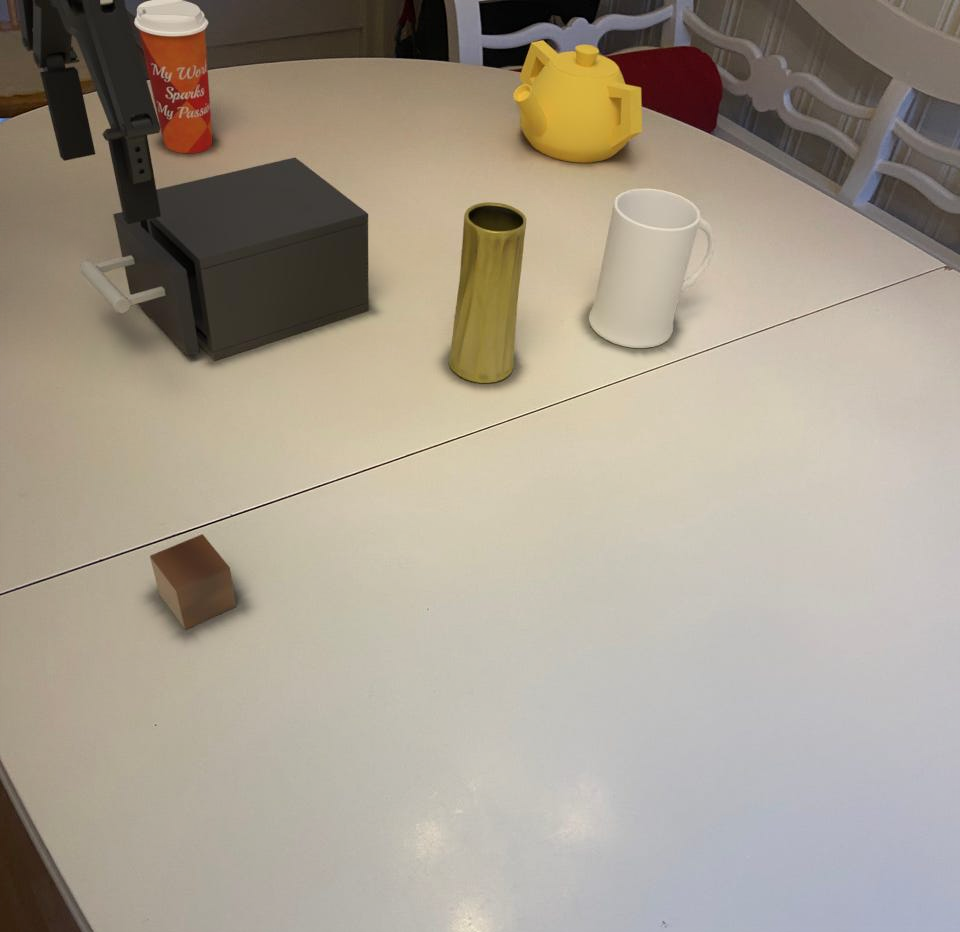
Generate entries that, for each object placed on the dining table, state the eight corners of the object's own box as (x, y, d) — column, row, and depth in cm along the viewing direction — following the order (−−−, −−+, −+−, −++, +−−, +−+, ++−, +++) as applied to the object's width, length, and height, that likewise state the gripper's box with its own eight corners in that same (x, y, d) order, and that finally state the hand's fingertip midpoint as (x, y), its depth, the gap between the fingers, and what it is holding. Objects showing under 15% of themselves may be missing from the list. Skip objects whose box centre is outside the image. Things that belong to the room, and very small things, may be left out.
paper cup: (162, 160, 111) (140, 23, 100) (148, 132, 115) (125, -2, 105) (229, 153, 114) (214, 19, 103) (213, 126, 118) (197, -5, 107)
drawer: (137, 371, 84) (119, 288, 78) (82, 308, 89) (61, 226, 83) (336, 308, 93) (333, 229, 87) (274, 254, 98) (268, 176, 92)
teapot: (457, 132, 123) (463, 36, 114) (556, 103, 132) (568, 11, 123) (568, 195, 114) (584, 96, 106) (666, 158, 123) (688, 64, 115)
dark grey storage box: (214, 361, 87) (199, 259, 80) (150, 295, 93) (131, 194, 86) (368, 310, 95) (368, 213, 87) (301, 252, 101) (295, 156, 93)
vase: (469, 339, 93) (482, 192, 82) (524, 361, 91) (545, 214, 80) (436, 368, 89) (445, 219, 78) (493, 392, 88) (510, 243, 77)
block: (185, 630, 67) (176, 591, 64) (159, 594, 69) (149, 555, 66) (236, 606, 69) (230, 567, 66) (210, 572, 71) (202, 533, 67)
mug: (680, 296, 101) (710, 182, 92) (715, 341, 96) (751, 226, 87) (576, 305, 99) (597, 188, 89) (607, 352, 93) (632, 234, 84)
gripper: (178, -111, 57) (222, 239, 74) (23, -203, 68) (92, 120, 85) (54, -101, 54) (129, 264, 70) (-88, -199, 65) (6, 136, 81)
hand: (109, 186), depth 78 cm, fingers open, 11 cm apart
